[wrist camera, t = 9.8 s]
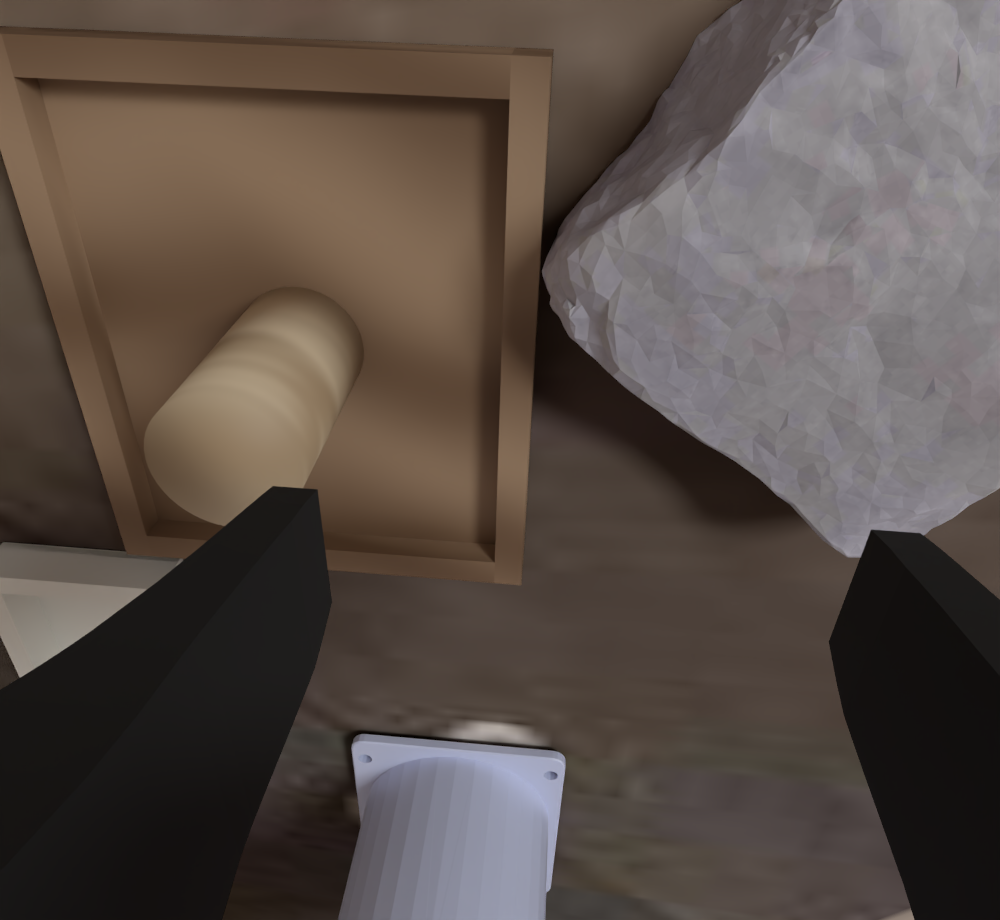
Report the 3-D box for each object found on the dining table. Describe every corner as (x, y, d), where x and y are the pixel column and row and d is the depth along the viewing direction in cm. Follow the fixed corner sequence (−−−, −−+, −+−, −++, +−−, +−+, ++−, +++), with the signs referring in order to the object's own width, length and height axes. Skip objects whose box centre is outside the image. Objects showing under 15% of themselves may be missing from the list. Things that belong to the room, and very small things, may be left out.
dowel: (366, 404, 21) (308, 534, 17) (249, 394, 21) (160, 520, 17) (361, 292, 19) (295, 403, 15) (233, 281, 19) (129, 388, 15)
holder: (214, 680, 29) (197, 716, 27) (55, 666, 29) (31, 702, 28) (182, 555, 25) (160, 590, 24) (3, 541, 26) (-29, 575, 24)
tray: (523, 558, 24) (520, 585, 23) (144, 529, 25) (126, 554, 24) (553, 49, 16) (552, 57, 15) (-1, 26, 17) (-37, 31, 16)
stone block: (803, -124, 16) (503, 272, 19) (939, -196, 12) (522, 330, 15) (1118, 236, 20) (825, 517, 23) (1308, 281, 15) (914, 619, 19)
